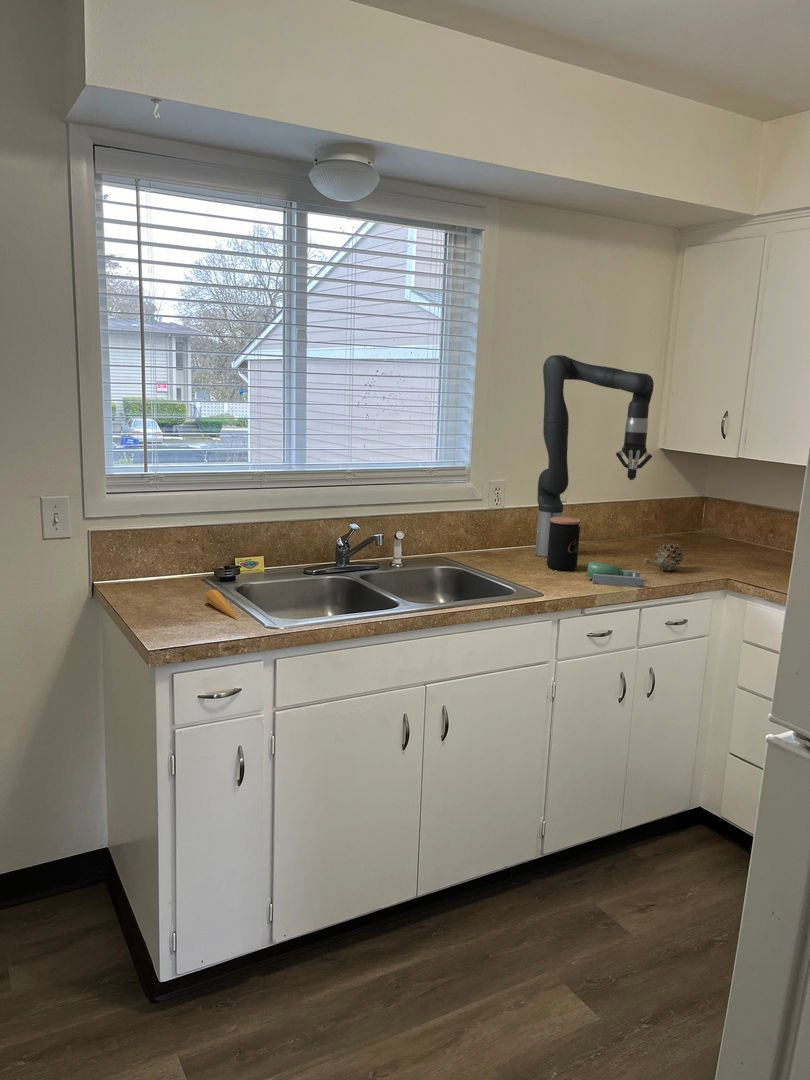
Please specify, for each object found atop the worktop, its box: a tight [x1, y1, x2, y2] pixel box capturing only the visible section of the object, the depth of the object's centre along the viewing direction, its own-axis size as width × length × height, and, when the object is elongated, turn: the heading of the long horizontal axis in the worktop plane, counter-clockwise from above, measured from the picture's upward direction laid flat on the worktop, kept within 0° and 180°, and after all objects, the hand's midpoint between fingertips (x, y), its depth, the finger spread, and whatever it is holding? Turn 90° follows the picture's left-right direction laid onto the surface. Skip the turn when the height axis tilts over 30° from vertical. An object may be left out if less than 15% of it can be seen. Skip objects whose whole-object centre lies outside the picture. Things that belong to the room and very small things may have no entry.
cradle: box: [591, 569, 644, 589], centre depth 279 cm, size 16×11×3 cm
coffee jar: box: [546, 516, 581, 572], centre depth 294 cm, size 11×11×18 cm
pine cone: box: [643, 542, 685, 572], centre depth 297 cm, size 22×10×10 cm, turn 135°
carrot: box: [205, 589, 238, 620], centre depth 227 cm, size 20×4×4 cm, turn 33°
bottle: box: [586, 561, 636, 578], centre depth 279 cm, size 5×5×16 cm
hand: (631, 479), depth 294 cm, fingers closed
